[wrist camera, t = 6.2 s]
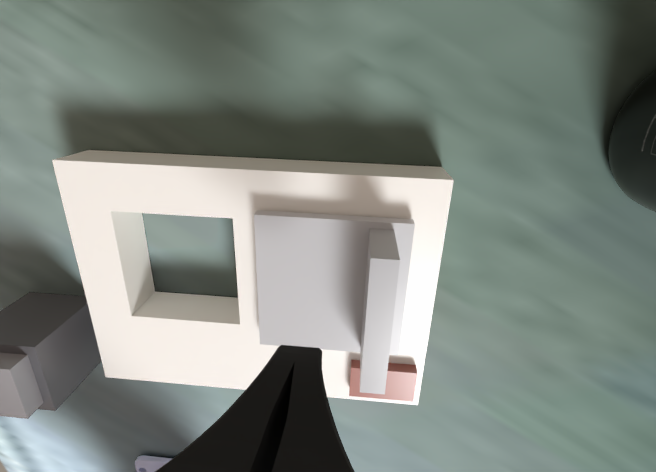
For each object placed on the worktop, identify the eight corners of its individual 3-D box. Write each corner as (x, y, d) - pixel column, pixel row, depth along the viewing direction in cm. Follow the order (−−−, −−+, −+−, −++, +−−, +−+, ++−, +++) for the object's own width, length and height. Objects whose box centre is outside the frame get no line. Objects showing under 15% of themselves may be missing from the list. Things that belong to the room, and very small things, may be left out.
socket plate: (412, 372, 22) (419, 414, 20) (129, 348, 23) (98, 385, 21) (442, 167, 18) (456, 183, 15) (88, 149, 19) (41, 162, 16)
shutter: (397, 347, 19) (404, 401, 16) (262, 336, 19) (243, 387, 16) (413, 218, 16) (424, 253, 13) (257, 210, 17) (232, 241, 13)
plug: (108, 352, 24) (40, 426, 19) (47, 347, 24) (-37, 419, 19) (95, 296, 22) (17, 361, 17) (30, 292, 23) (-66, 354, 18)
